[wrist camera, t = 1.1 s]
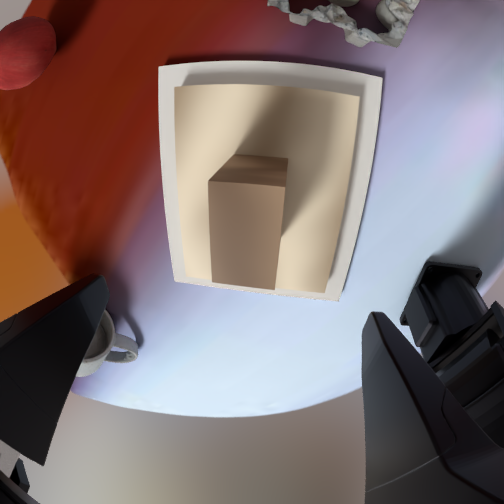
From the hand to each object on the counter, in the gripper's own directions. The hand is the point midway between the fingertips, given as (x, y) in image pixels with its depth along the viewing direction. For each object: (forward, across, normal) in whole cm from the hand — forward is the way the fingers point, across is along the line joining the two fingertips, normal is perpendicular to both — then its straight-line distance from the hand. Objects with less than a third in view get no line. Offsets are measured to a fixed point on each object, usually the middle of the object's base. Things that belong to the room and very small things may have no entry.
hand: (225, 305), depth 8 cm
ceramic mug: (+11, +18, +17) cm, 27 cm away
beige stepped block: (+10, 0, 0) cm, 10 cm away
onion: (+11, +17, -12) cm, 23 cm away
